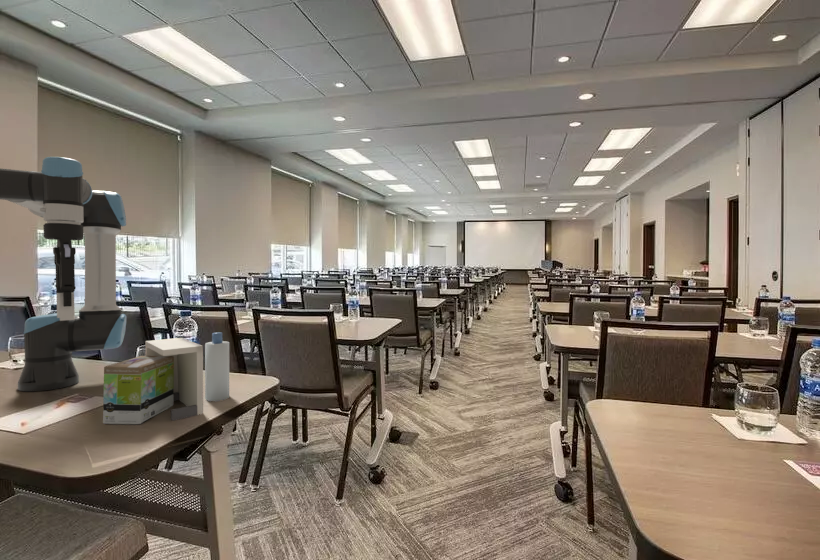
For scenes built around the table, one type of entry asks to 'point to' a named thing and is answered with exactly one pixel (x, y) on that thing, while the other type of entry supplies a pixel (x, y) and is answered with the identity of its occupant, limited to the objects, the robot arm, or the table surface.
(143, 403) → the tea box
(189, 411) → the rails
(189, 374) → the shelf
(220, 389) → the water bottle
